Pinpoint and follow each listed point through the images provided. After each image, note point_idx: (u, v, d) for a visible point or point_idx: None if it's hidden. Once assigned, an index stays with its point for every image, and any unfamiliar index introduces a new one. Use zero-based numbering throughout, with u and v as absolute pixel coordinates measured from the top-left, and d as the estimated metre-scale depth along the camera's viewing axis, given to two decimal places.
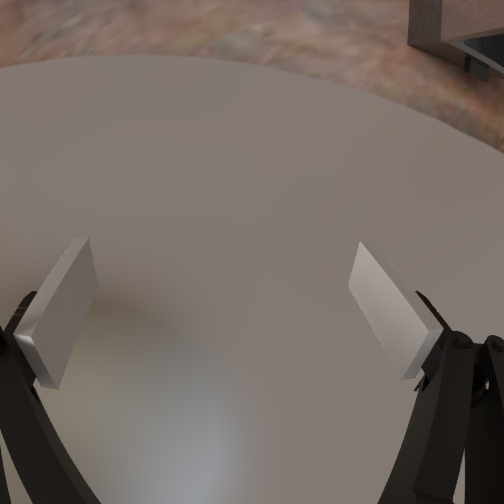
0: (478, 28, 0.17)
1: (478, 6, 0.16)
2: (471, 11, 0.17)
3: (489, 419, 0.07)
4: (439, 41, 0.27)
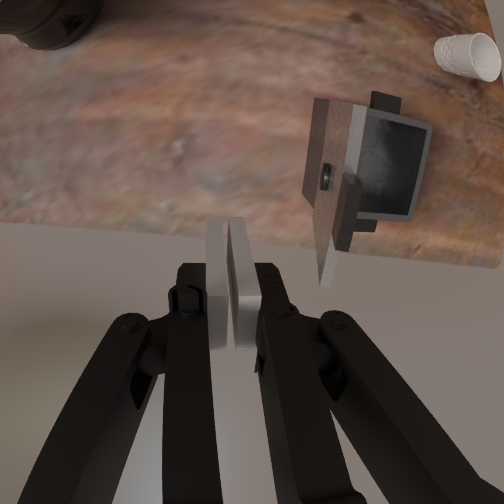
0: (316, 248, 0.32)
1: (321, 225, 0.31)
2: (319, 222, 0.33)
3: (364, 411, 0.08)
4: None
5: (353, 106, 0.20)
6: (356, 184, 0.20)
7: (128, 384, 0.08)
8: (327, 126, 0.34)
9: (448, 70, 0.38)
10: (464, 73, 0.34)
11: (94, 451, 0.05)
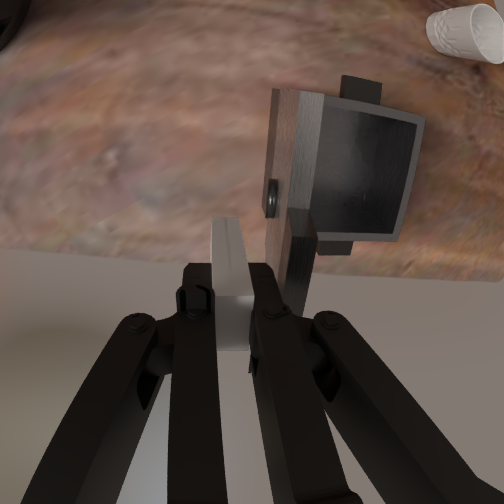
0: None
1: None
2: (268, 259, 0.25)
3: (359, 412, 0.08)
4: None
5: (300, 95, 0.12)
6: (305, 236, 0.12)
7: (134, 384, 0.08)
8: (277, 124, 0.25)
9: (444, 51, 0.29)
10: (464, 53, 0.26)
11: (100, 451, 0.05)
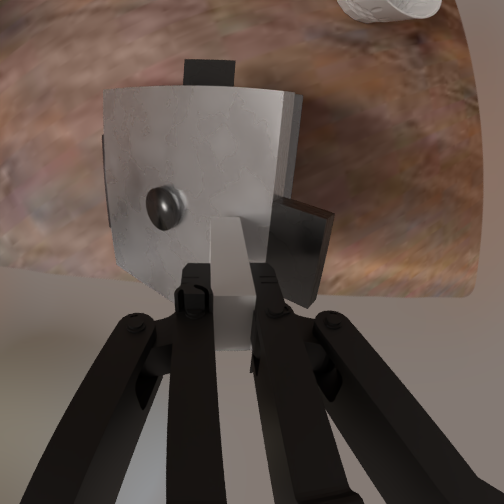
0: None
1: None
2: (168, 272, 0.22)
3: (360, 412, 0.08)
4: None
5: (282, 95, 0.12)
6: (329, 216, 0.14)
7: (133, 384, 0.08)
8: (111, 131, 0.21)
9: (359, 17, 0.25)
10: (377, 13, 0.21)
11: (98, 451, 0.05)
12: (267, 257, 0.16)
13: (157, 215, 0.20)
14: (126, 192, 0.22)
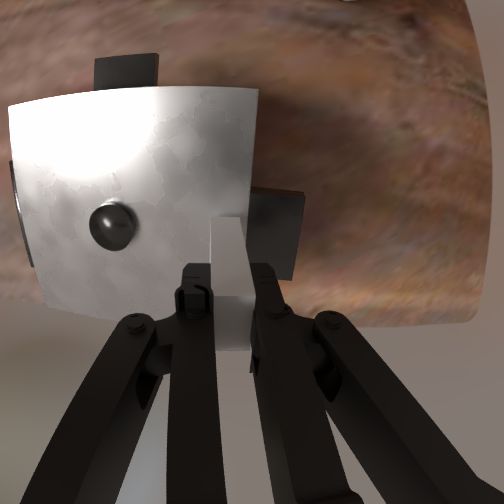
0: None
1: (142, 293, 0.19)
2: (123, 294, 0.20)
3: (360, 412, 0.08)
4: None
5: (256, 92, 0.13)
6: (302, 195, 0.16)
7: (133, 384, 0.08)
8: (24, 154, 0.15)
9: None
10: None
11: (99, 451, 0.05)
12: (246, 245, 0.17)
13: (107, 236, 0.17)
14: (53, 221, 0.17)
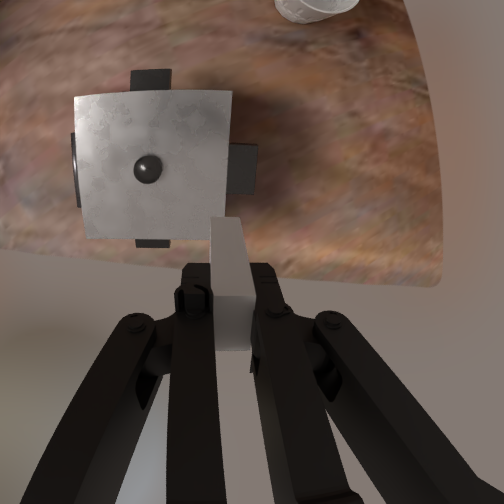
0: (164, 235, 0.33)
1: (163, 212, 0.31)
2: (149, 216, 0.31)
3: (360, 412, 0.08)
4: None
5: (231, 92, 0.26)
6: (256, 145, 0.30)
7: (133, 384, 0.08)
8: (86, 128, 0.26)
9: (294, 19, 0.29)
10: (301, 13, 0.26)
11: (98, 451, 0.05)
12: (227, 174, 0.30)
13: (145, 174, 0.29)
14: (104, 170, 0.28)
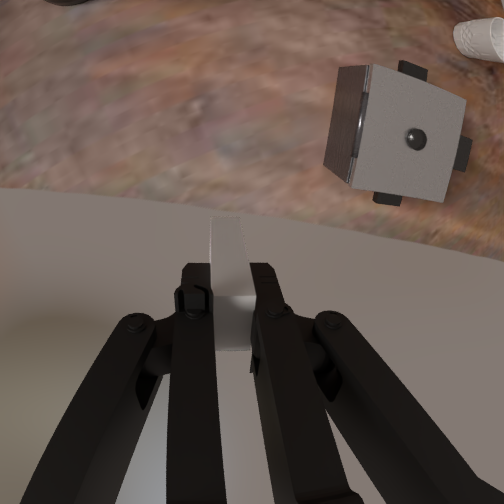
0: (411, 194, 0.37)
1: (416, 175, 0.36)
2: (407, 176, 0.36)
3: (360, 412, 0.08)
4: (342, 178, 0.38)
5: (465, 101, 0.31)
6: (469, 139, 0.35)
7: (133, 384, 0.08)
8: (379, 92, 0.31)
9: (467, 53, 0.35)
10: (484, 55, 0.31)
11: (98, 451, 0.05)
12: (456, 155, 0.35)
13: (416, 143, 0.33)
14: (385, 131, 0.33)
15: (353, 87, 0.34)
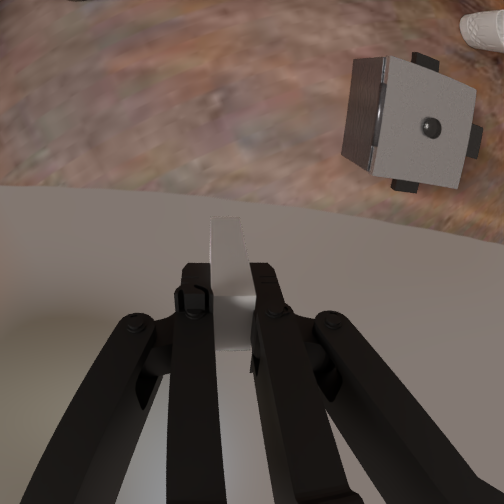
0: (428, 180, 0.37)
1: (432, 162, 0.36)
2: (423, 163, 0.36)
3: (360, 412, 0.08)
4: (362, 167, 0.38)
5: (476, 90, 0.31)
6: (480, 127, 0.34)
7: (133, 384, 0.08)
8: (396, 83, 0.30)
9: (474, 45, 0.34)
10: (490, 46, 0.30)
11: (98, 451, 0.05)
12: (468, 143, 0.35)
13: (432, 131, 0.33)
14: (403, 120, 0.33)
15: (370, 78, 0.34)
